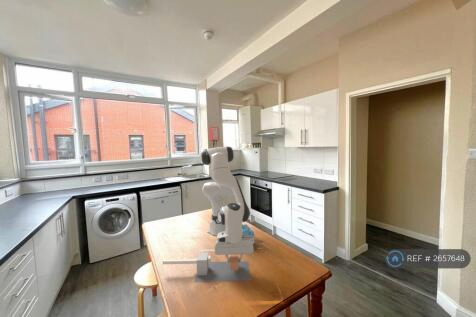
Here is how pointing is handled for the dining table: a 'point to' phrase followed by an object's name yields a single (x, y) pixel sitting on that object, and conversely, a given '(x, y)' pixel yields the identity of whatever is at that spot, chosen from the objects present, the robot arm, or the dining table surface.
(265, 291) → the dining table surface
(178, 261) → the bar
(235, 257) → the salmon orange rectangular block
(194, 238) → the dining table surface
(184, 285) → the dining table surface
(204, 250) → the white mat
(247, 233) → the decorative pot
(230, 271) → the board
